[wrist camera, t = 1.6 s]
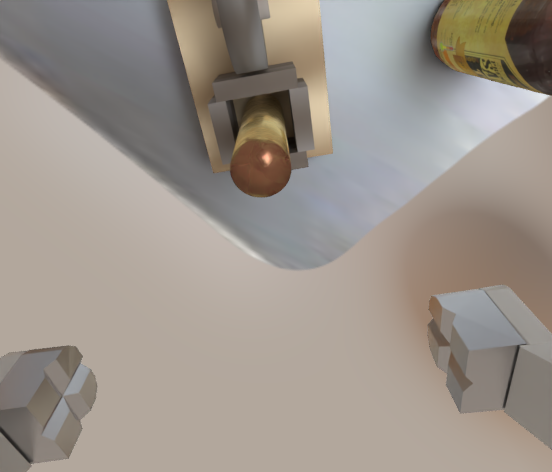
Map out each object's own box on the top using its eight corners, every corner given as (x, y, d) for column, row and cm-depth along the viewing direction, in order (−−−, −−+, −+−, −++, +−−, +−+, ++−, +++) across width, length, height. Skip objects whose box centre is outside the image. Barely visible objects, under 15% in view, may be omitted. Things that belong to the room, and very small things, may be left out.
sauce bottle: (417, 66, 31) (606, 129, 13) (440, -25, 27) (726, -97, 10) (493, 73, 31) (772, 142, 14) (525, -17, 28) (937, -71, 11)
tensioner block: (170, -33, 27) (117, -60, 17) (306, -61, 26) (328, -105, 17) (218, 157, 34) (199, 211, 25) (326, 139, 34) (348, 187, 24)
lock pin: (240, 97, 28) (223, 144, 17) (279, 90, 28) (286, 134, 17) (248, 136, 29) (237, 201, 19) (285, 130, 29) (295, 192, 19)
